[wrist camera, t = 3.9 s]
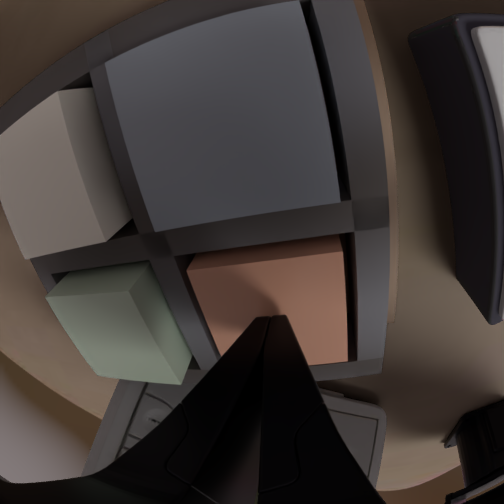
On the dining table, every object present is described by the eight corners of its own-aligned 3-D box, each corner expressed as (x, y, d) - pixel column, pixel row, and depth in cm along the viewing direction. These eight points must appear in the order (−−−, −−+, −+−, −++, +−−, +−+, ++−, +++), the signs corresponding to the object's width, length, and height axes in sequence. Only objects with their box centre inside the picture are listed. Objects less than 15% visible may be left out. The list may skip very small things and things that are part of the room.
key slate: (329, 174, 7) (340, 202, 6) (187, 198, 8) (155, 232, 6) (298, 26, 6) (298, 0, 4) (150, 67, 7) (104, 63, 5)
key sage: (197, 340, 11) (181, 384, 9) (119, 340, 12) (97, 375, 10) (159, 251, 9) (128, 291, 7) (77, 264, 10) (44, 296, 8)
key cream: (143, 208, 9) (105, 241, 7) (62, 230, 10) (25, 259, 8) (107, 86, 7) (57, 90, 5) (28, 133, 8) (-16, 149, 6)
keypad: (386, 300, 12) (407, 368, 9) (120, 321, 16) (87, 372, 12) (353, 8, 7) (382, -35, 4) (37, 115, 10) (-26, 134, 7)
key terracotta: (342, 316, 11) (347, 361, 9) (238, 325, 11) (226, 369, 10) (333, 215, 9) (342, 251, 7) (208, 234, 10) (186, 270, 8)
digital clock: (397, 402, 16) (411, 547, 7) (310, 447, 21) (300, 560, 12) (171, 282, 14) (58, 495, 5) (124, 365, 18) (60, 495, 9)
